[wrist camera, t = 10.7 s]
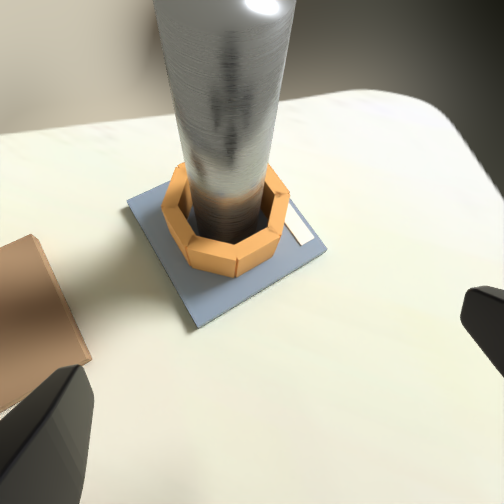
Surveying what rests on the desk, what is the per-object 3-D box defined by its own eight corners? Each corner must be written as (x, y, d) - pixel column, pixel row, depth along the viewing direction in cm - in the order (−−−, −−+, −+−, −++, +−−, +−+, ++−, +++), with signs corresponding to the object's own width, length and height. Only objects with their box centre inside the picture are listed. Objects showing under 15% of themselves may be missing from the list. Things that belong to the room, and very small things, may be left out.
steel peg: (254, 254, 19) (297, 38, 7) (193, 249, 19) (136, 22, 7) (257, 202, 21) (297, -51, 9) (201, 197, 21) (163, -66, 9)
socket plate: (324, 252, 21) (344, 227, 17) (198, 328, 18) (192, 317, 15) (249, 149, 23) (253, 110, 20) (128, 205, 21) (110, 171, 17)
